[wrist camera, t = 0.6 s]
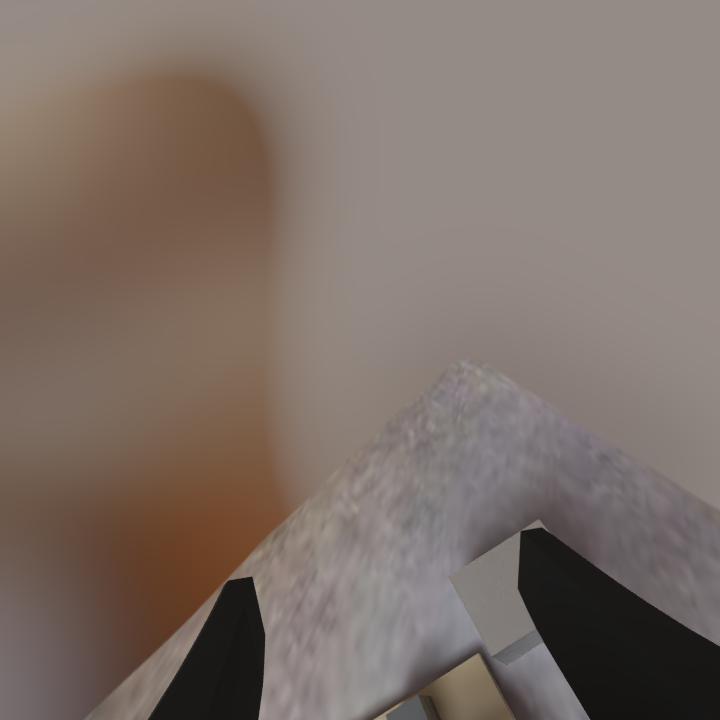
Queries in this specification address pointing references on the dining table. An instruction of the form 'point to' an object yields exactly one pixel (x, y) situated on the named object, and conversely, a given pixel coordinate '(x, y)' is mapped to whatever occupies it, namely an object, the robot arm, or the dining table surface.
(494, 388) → the dining table surface
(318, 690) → the dining table surface
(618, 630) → the robot arm
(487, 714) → the vise
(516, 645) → the steel block
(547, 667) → the dining table surface
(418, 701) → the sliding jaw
